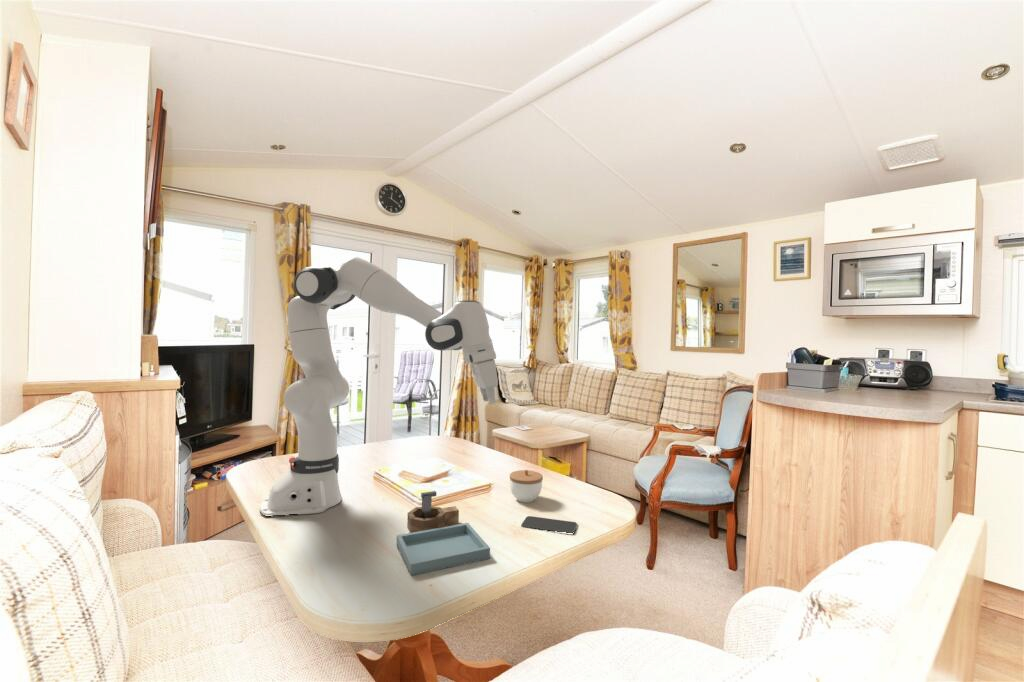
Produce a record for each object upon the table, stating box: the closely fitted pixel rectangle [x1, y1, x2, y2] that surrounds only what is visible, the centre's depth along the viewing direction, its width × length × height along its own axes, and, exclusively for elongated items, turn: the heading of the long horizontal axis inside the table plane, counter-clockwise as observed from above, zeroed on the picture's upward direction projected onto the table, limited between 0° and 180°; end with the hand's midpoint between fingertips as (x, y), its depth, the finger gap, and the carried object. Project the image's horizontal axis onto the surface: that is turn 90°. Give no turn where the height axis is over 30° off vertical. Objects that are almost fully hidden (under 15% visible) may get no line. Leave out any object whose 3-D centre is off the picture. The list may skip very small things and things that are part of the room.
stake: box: [420, 490, 437, 519], centre depth 123 cm, size 5×5×10 cm
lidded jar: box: [509, 469, 544, 503], centre depth 145 cm, size 11×11×9 cm
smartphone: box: [520, 515, 578, 533], centre depth 126 cm, size 7×1×15 cm
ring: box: [406, 505, 460, 533], centre depth 124 cm, size 14×9×4 cm
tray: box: [395, 522, 491, 576], centre depth 110 cm, size 19×15×2 cm
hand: (489, 402), depth 128 cm, fingers open, 8 cm apart
